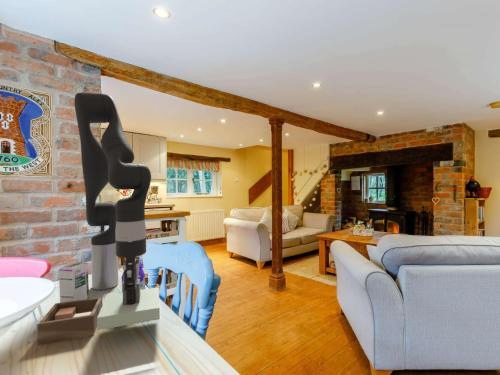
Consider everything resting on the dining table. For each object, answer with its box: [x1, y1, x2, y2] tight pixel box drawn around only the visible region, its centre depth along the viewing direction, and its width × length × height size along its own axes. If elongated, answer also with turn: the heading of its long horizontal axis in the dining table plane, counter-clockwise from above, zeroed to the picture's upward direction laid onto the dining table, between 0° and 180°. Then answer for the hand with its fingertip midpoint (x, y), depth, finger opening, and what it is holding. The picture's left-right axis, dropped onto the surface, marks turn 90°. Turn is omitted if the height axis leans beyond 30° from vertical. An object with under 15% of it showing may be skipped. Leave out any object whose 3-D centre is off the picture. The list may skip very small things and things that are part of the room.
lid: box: [96, 279, 161, 331], centre depth 71 cm, size 14×14×8 cm
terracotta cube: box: [55, 307, 76, 320], centre depth 74 cm, size 4×4×4 cm
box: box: [37, 296, 103, 346], centre depth 72 cm, size 12×12×6 cm
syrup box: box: [58, 261, 90, 303], centre depth 85 cm, size 6×6×14 cm
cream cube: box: [74, 312, 92, 317], centre depth 71 cm, size 4×4×4 cm
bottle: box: [120, 256, 146, 292], centre depth 87 cm, size 7×6×17 cm
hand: (132, 299), depth 71 cm, fingers closed on lid, 4 cm apart
